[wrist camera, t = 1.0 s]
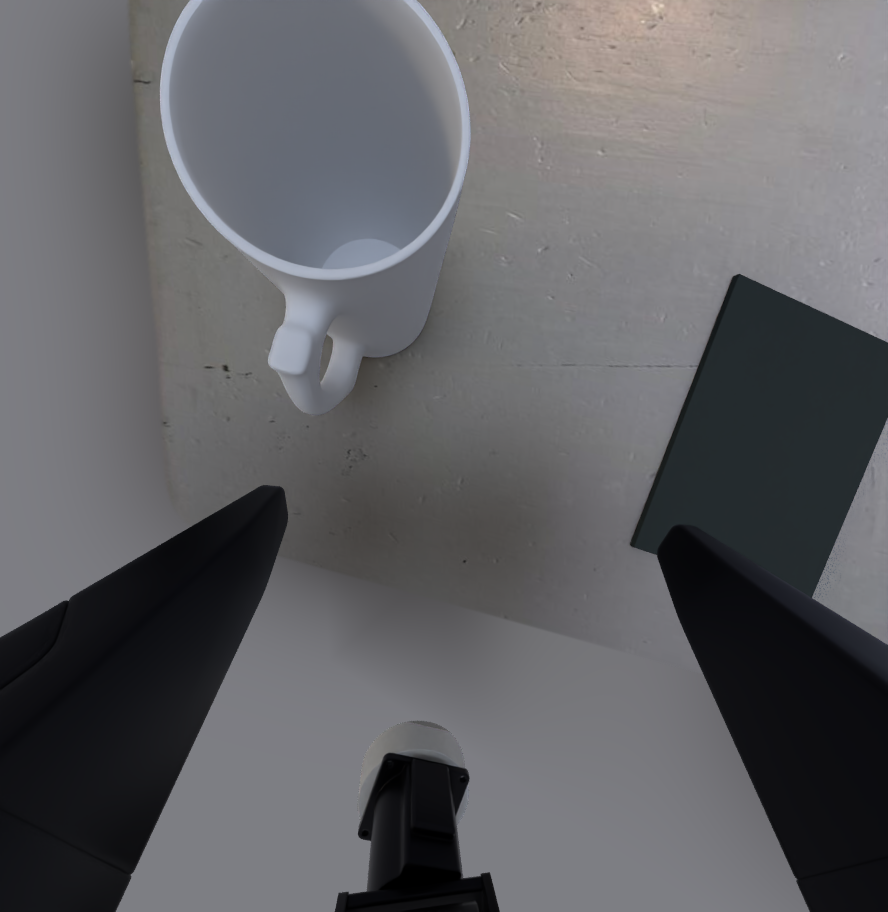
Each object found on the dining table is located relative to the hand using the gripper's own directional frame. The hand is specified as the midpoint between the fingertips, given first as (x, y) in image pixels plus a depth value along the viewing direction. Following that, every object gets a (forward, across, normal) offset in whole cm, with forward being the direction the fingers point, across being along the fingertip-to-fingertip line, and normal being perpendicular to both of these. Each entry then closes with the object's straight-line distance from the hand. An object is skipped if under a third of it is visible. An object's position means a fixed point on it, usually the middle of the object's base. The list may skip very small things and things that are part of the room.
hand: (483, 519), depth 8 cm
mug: (+15, +5, 0) cm, 16 cm away
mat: (+14, -22, +4) cm, 26 cm away
